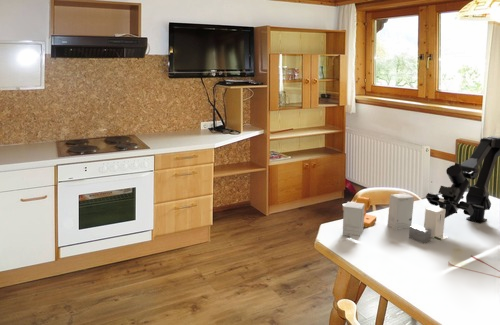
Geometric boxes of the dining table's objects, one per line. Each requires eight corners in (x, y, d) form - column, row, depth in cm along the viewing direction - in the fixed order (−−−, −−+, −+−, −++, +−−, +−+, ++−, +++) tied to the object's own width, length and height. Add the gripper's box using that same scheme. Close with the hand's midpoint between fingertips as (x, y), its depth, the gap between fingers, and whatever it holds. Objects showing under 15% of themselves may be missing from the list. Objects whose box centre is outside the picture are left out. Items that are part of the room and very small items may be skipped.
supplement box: (363, 232, 186) (365, 203, 183) (359, 238, 179) (361, 208, 176) (346, 229, 189) (347, 201, 186) (341, 235, 182) (343, 206, 179)
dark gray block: (414, 236, 179) (415, 224, 178) (430, 241, 174) (431, 229, 172) (408, 238, 177) (409, 226, 176) (424, 244, 171) (425, 232, 170)
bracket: (368, 229, 189) (370, 202, 186) (352, 226, 193) (354, 199, 190) (376, 222, 198) (378, 196, 195) (360, 218, 202) (362, 193, 199)
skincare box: (395, 232, 186) (397, 198, 183) (386, 227, 192) (389, 194, 188) (411, 230, 188) (415, 196, 185) (403, 225, 194) (405, 192, 191)
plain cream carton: (431, 231, 184) (434, 205, 181) (448, 237, 178) (451, 211, 175) (417, 236, 179) (420, 210, 176) (434, 242, 173) (437, 215, 170)
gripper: (430, 173, 188) (411, 203, 184) (473, 183, 173) (454, 216, 169) (439, 189, 194) (421, 217, 190) (481, 199, 179) (463, 231, 175)
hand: (439, 220), depth 181 cm, fingers closed, pressing on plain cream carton
